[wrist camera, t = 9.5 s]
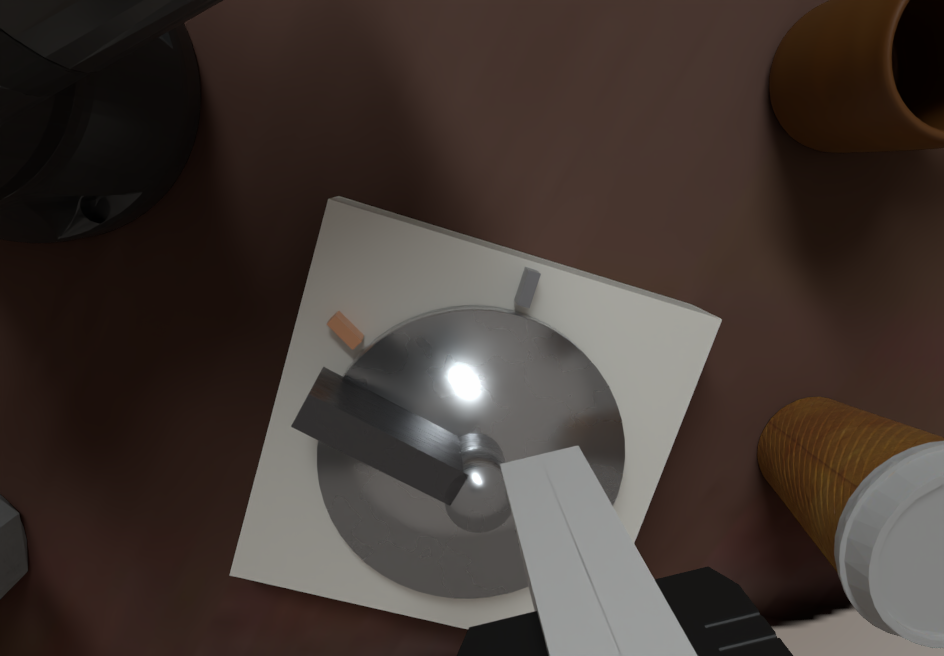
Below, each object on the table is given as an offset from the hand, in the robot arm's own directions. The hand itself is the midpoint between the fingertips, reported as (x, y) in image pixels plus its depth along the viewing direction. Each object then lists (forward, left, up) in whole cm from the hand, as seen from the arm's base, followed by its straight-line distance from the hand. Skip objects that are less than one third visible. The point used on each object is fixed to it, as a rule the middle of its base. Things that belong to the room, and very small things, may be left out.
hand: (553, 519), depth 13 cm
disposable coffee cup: (+22, -3, -25) cm, 33 cm away
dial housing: (+2, -7, -24) cm, 25 cm away
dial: (+2, -7, -20) cm, 22 cm away
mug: (+17, +17, -25) cm, 34 cm away
